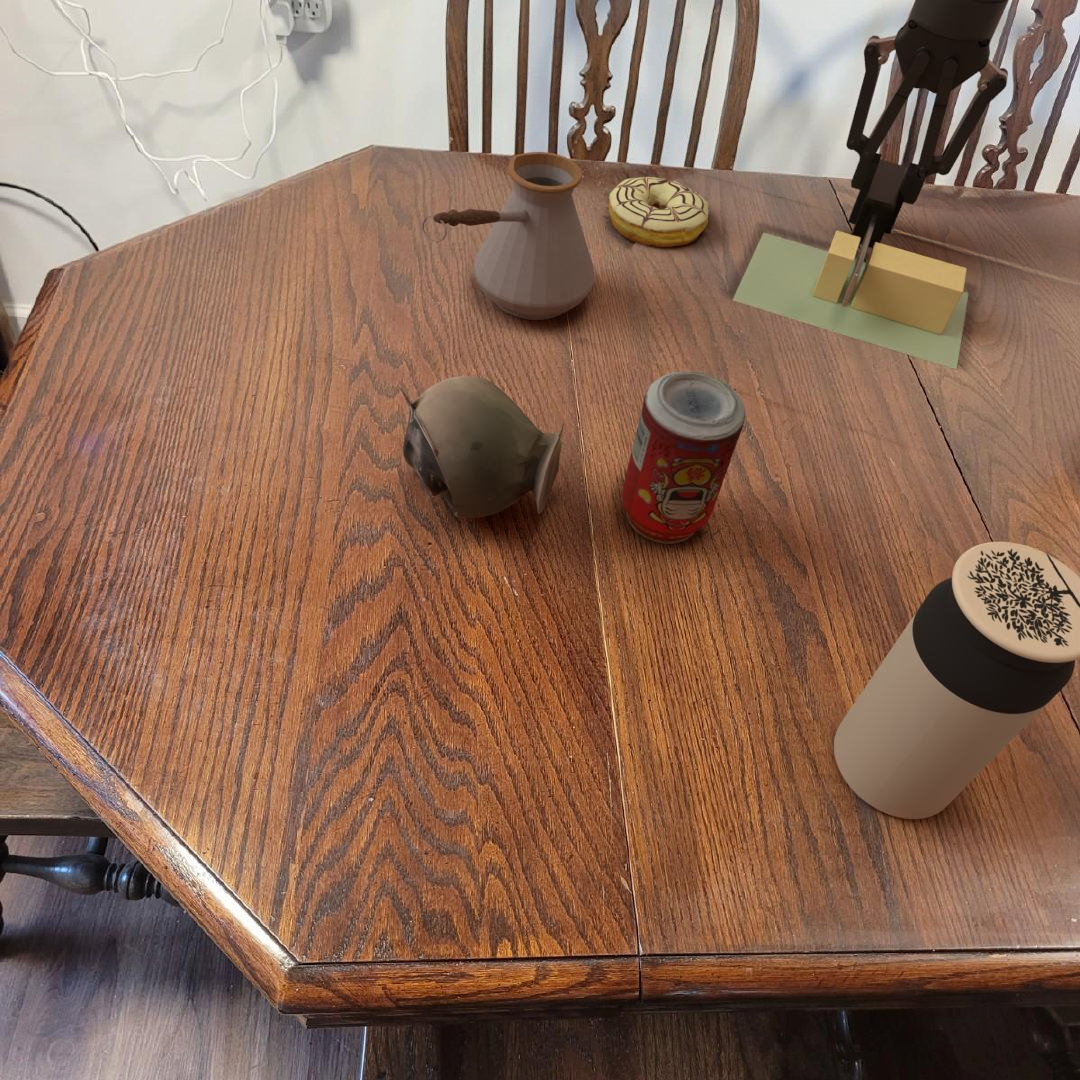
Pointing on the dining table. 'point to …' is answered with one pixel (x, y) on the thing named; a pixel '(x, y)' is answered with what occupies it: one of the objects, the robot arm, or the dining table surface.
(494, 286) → the coffee pot
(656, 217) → the decorated donut
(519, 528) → the dining table surface
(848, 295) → the knife
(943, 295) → the butter block
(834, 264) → the butter slice
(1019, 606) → the travel mug
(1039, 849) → the dining table surface
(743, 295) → the butter board
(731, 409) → the soda can
